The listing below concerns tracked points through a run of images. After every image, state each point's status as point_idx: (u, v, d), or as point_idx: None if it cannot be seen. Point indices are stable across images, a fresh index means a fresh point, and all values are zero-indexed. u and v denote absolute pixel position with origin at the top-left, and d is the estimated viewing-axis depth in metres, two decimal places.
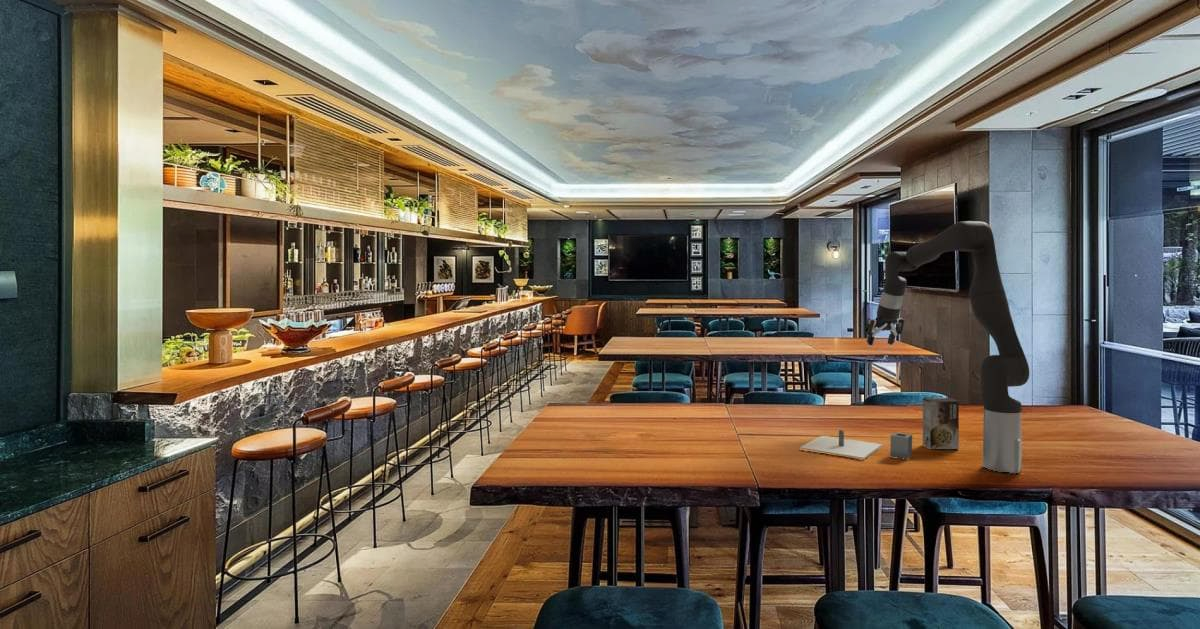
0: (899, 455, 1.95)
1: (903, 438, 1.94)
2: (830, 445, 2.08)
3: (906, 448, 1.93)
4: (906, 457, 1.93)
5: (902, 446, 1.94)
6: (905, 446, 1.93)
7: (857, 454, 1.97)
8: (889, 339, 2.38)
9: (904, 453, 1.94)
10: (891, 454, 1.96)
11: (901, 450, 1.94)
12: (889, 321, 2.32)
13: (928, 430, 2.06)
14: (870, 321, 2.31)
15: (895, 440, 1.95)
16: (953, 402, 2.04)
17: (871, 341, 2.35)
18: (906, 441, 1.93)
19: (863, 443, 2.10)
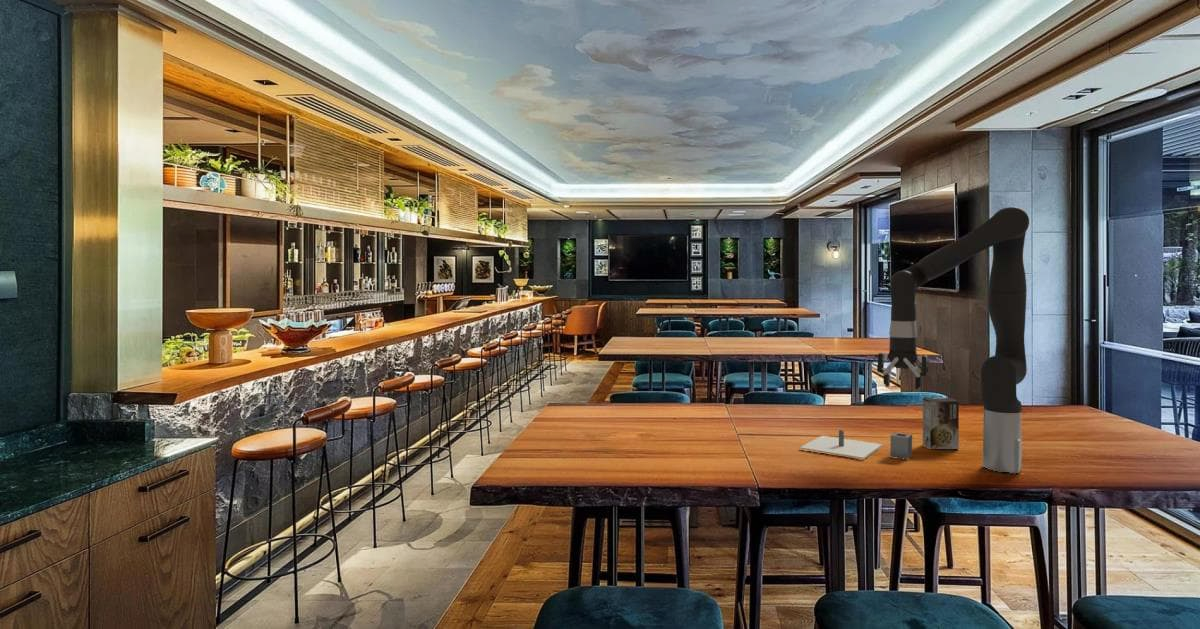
0: (899, 455, 1.95)
1: (903, 438, 1.94)
2: (830, 445, 2.08)
3: (906, 448, 1.93)
4: (906, 457, 1.93)
5: (902, 446, 1.94)
6: (905, 446, 1.93)
7: (857, 454, 1.97)
8: (888, 381, 1.98)
9: (904, 453, 1.94)
10: (891, 454, 1.96)
11: (901, 450, 1.94)
12: None
13: (928, 430, 2.06)
14: (927, 357, 1.91)
15: (895, 440, 1.95)
16: (953, 402, 2.04)
17: None
18: (906, 441, 1.93)
19: (863, 443, 2.10)
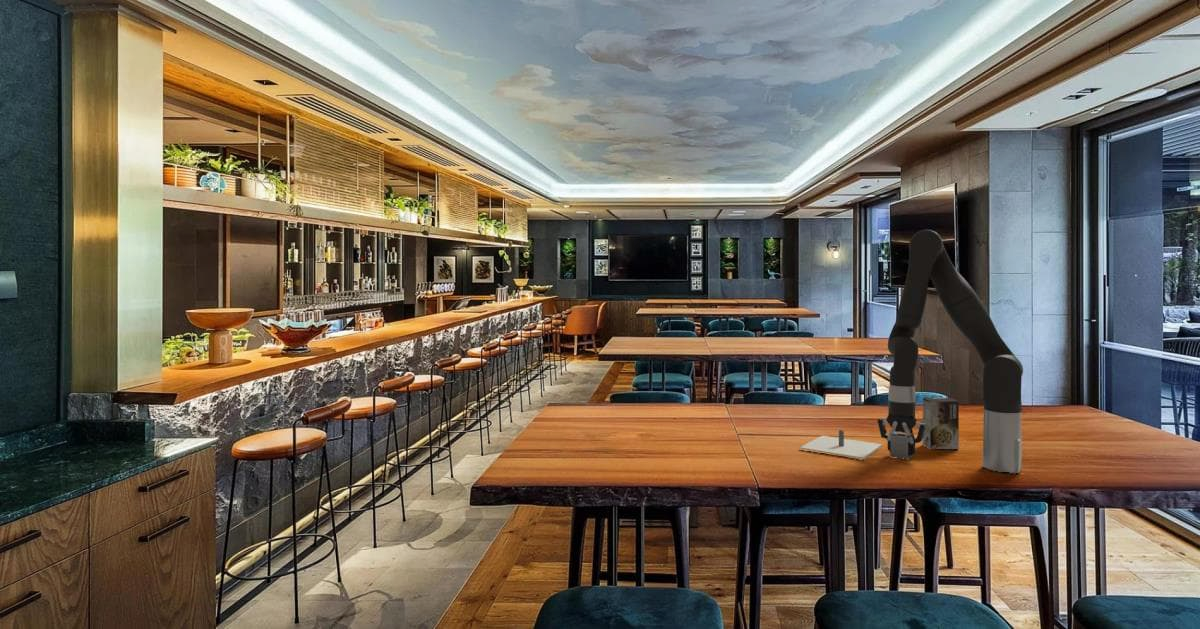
0: (899, 455, 1.95)
1: (903, 438, 1.94)
2: (830, 445, 2.08)
3: (906, 448, 1.93)
4: (906, 457, 1.93)
5: (902, 446, 1.94)
6: (905, 446, 1.93)
7: (857, 454, 1.97)
8: None
9: (904, 453, 1.94)
10: (891, 454, 1.96)
11: (901, 450, 1.94)
12: None
13: (928, 430, 2.06)
14: (925, 426, 1.92)
15: (895, 440, 1.95)
16: (953, 402, 2.04)
17: None
18: (906, 441, 1.93)
19: (863, 443, 2.10)
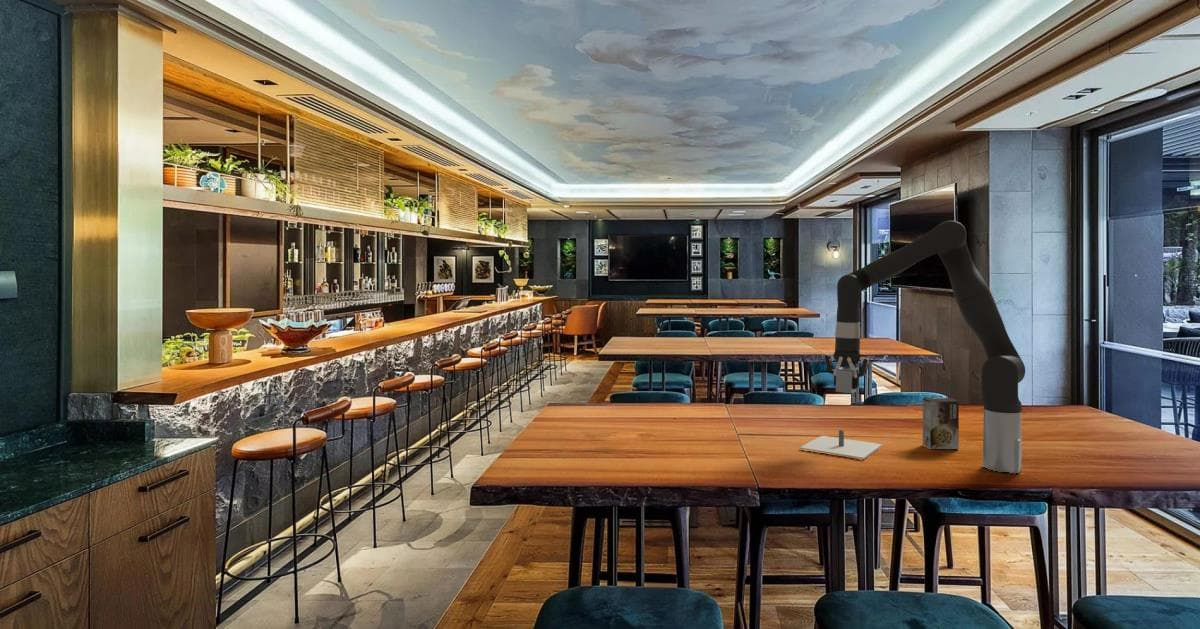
0: (844, 389, 2.04)
1: (847, 372, 2.03)
2: (830, 445, 2.08)
3: (850, 382, 2.02)
4: (850, 390, 2.03)
5: (847, 380, 2.03)
6: (849, 380, 2.03)
7: (857, 454, 1.97)
8: None
9: (848, 386, 2.03)
10: (836, 388, 2.05)
11: (845, 384, 2.03)
12: None
13: (928, 430, 2.06)
14: (868, 361, 2.01)
15: (840, 374, 2.04)
16: (953, 402, 2.04)
17: None
18: (850, 375, 2.02)
19: (863, 443, 2.10)
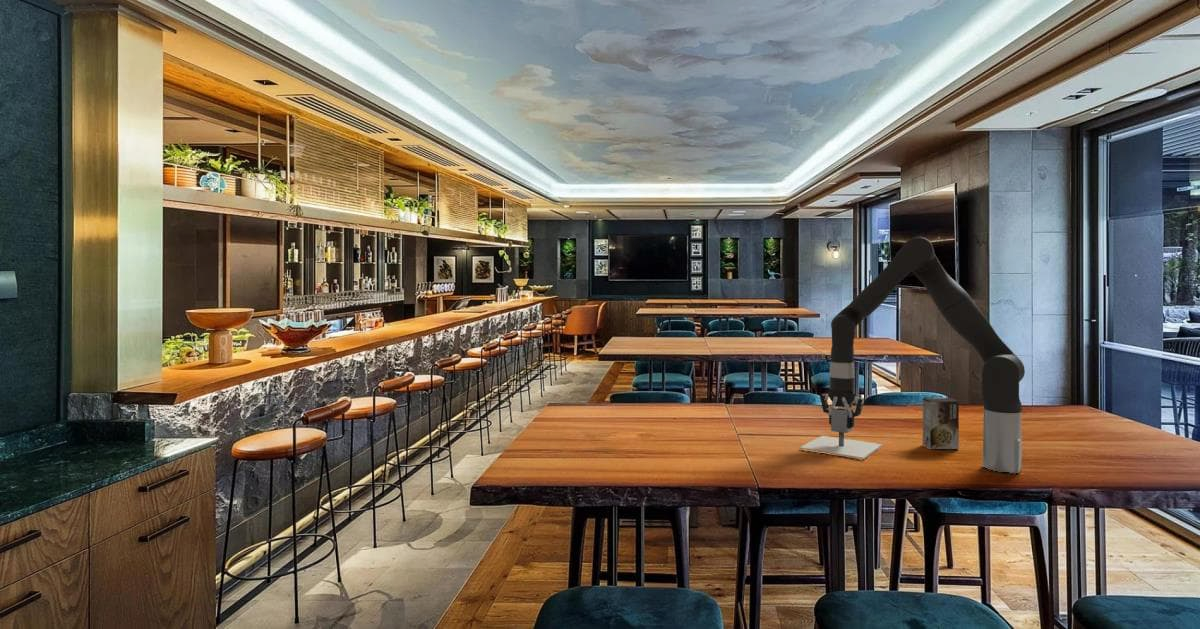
0: (839, 428, 2.05)
1: (842, 412, 2.04)
2: (830, 445, 2.08)
3: (845, 421, 2.04)
4: (845, 430, 2.04)
5: (842, 420, 2.04)
6: (844, 420, 2.04)
7: (857, 454, 1.97)
8: None
9: (844, 426, 2.04)
10: (832, 427, 2.06)
11: (841, 423, 2.05)
12: None
13: (928, 430, 2.06)
14: (863, 400, 2.03)
15: (835, 414, 2.06)
16: (953, 402, 2.04)
17: None
18: (845, 415, 2.04)
19: (863, 443, 2.10)
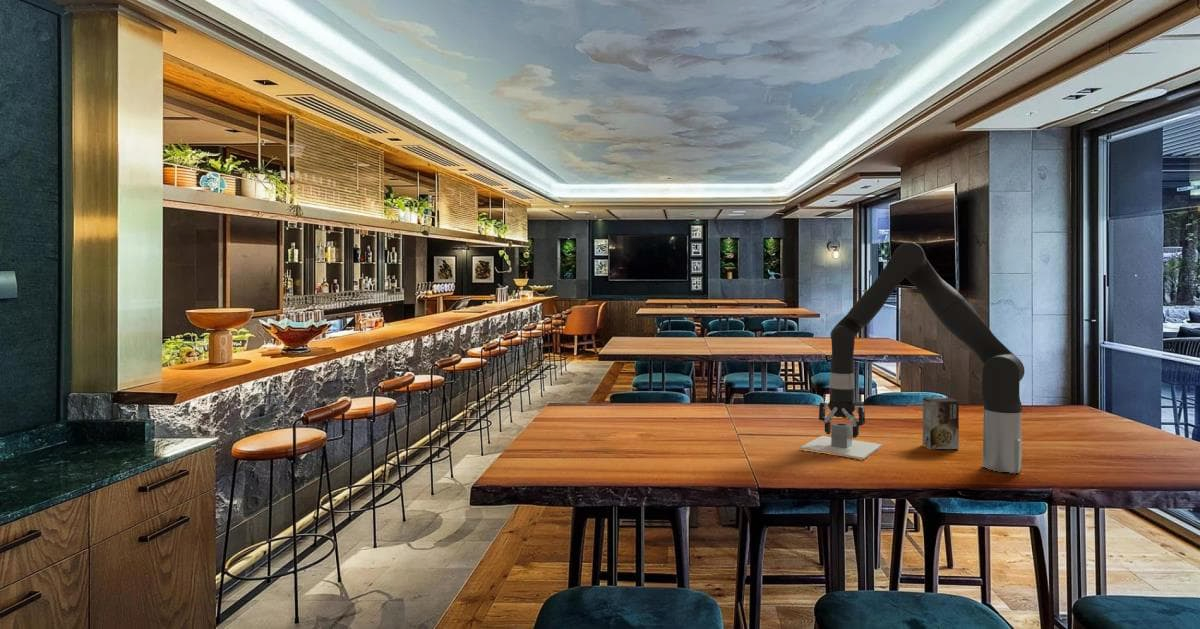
0: (839, 444, 2.05)
1: (843, 427, 2.04)
2: (830, 445, 2.08)
3: (845, 437, 2.04)
4: (845, 445, 2.04)
5: (842, 435, 2.04)
6: (844, 435, 2.04)
7: (857, 454, 1.97)
8: (829, 429, 2.09)
9: (844, 441, 2.04)
10: (832, 442, 2.07)
11: (841, 439, 2.05)
12: None
13: (928, 430, 2.06)
14: (863, 408, 2.03)
15: (835, 429, 2.06)
16: (953, 402, 2.04)
17: None
18: (845, 430, 2.04)
19: (863, 443, 2.10)
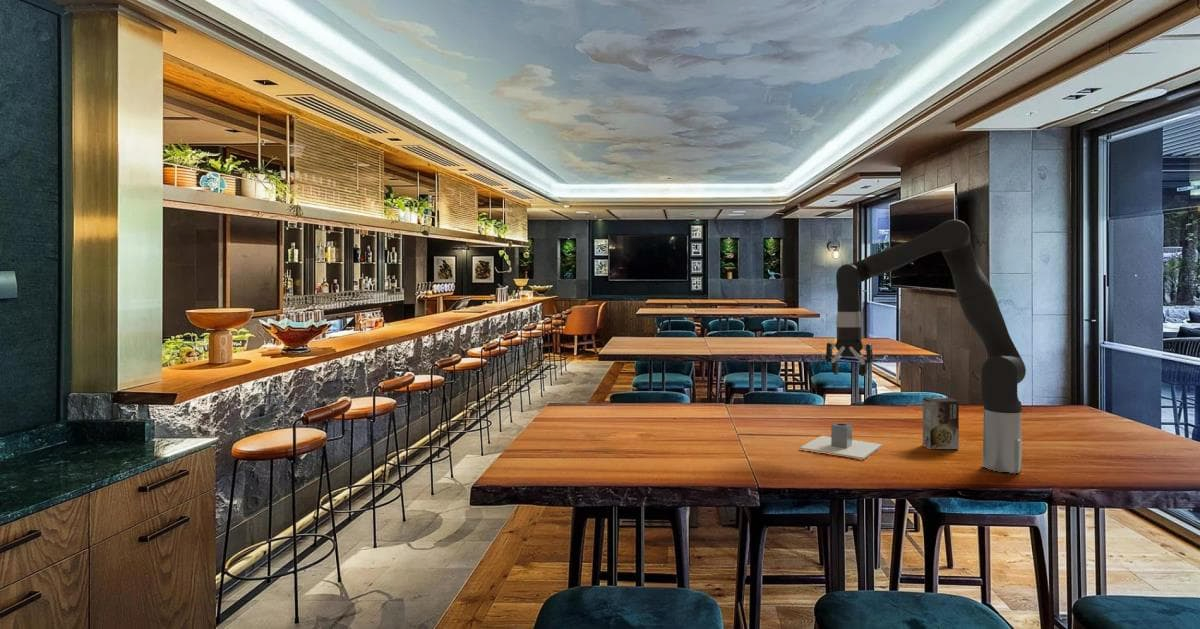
0: (839, 444, 2.05)
1: (843, 427, 2.04)
2: (830, 445, 2.08)
3: (845, 437, 2.04)
4: (845, 445, 2.04)
5: (842, 435, 2.04)
6: (844, 435, 2.04)
7: (857, 454, 1.97)
8: (836, 369, 2.08)
9: (844, 441, 2.04)
10: (832, 442, 2.07)
11: (841, 439, 2.05)
12: None
13: (928, 430, 2.06)
14: (871, 346, 2.02)
15: (835, 429, 2.06)
16: (953, 402, 2.04)
17: None
18: (845, 430, 2.04)
19: (863, 443, 2.10)
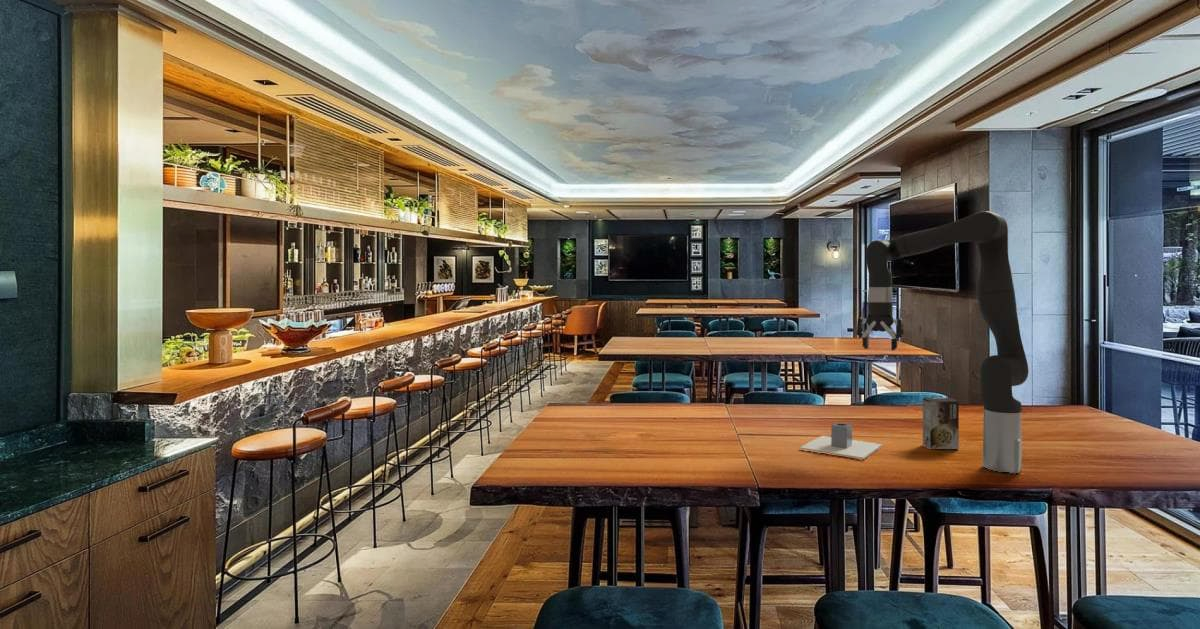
0: (839, 444, 2.05)
1: (843, 427, 2.04)
2: (830, 445, 2.08)
3: (845, 437, 2.04)
4: (845, 445, 2.04)
5: (842, 435, 2.04)
6: (844, 435, 2.04)
7: (857, 454, 1.97)
8: (867, 343, 2.13)
9: (844, 441, 2.04)
10: (832, 442, 2.07)
11: (841, 439, 2.05)
12: None
13: (928, 430, 2.06)
14: (902, 320, 2.06)
15: (835, 429, 2.06)
16: (953, 402, 2.04)
17: None
18: (845, 430, 2.04)
19: (863, 443, 2.10)
